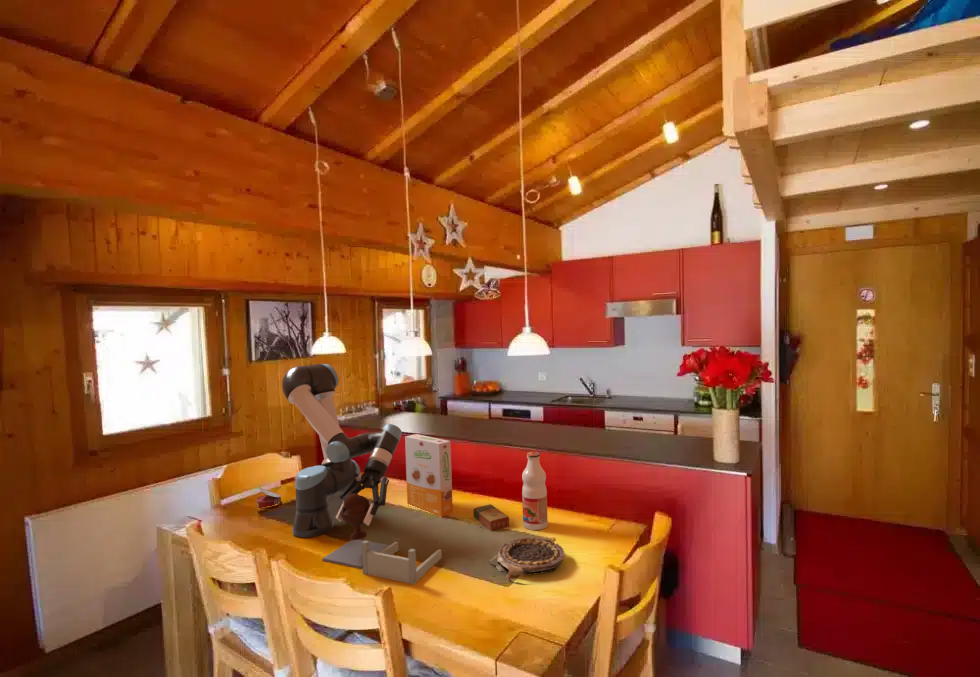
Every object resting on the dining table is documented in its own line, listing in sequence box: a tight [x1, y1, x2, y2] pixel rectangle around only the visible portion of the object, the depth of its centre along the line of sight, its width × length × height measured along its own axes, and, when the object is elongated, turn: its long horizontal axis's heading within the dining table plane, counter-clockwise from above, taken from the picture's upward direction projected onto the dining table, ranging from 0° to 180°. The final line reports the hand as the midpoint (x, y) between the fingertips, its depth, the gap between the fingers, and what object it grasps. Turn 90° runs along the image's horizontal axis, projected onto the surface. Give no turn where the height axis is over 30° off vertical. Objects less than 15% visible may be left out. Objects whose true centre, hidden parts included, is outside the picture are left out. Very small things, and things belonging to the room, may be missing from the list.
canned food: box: [256, 486, 282, 507], centre depth 221 cm, size 11×10×10 cm
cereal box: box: [404, 433, 454, 518], centre depth 209 cm, size 22×6×30 cm, turn 47°
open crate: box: [362, 540, 443, 586], centre depth 159 cm, size 19×17×10 cm
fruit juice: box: [521, 451, 549, 531], centre depth 188 cm, size 9×9×28 cm
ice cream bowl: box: [340, 493, 371, 540], centre depth 168 cm, size 11×11×15 cm
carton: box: [472, 503, 510, 532], centre depth 194 cm, size 8×16×4 cm, turn 26°
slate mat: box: [322, 539, 391, 570], centre depth 169 cm, size 16×16×1 cm
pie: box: [488, 536, 565, 585], centre depth 159 cm, size 28×27×5 cm
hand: (352, 521), depth 165 cm, fingers closed on ice cream bowl, 11 cm apart
